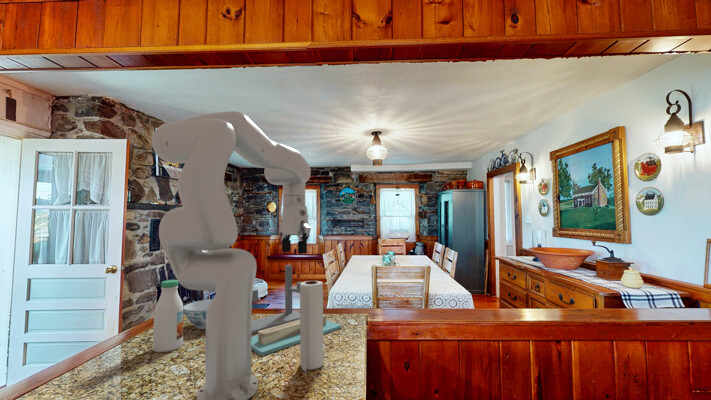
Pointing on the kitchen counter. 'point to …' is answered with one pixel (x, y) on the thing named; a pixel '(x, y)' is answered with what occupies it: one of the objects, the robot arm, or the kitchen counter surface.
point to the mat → (286, 340)
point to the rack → (289, 313)
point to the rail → (281, 331)
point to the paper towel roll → (311, 325)
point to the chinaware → (197, 312)
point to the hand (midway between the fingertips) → (294, 252)
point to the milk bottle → (168, 319)
